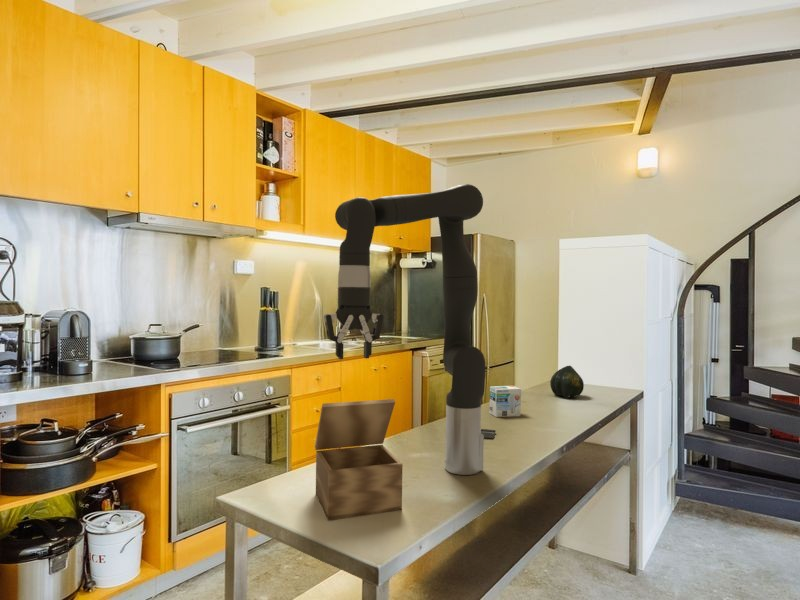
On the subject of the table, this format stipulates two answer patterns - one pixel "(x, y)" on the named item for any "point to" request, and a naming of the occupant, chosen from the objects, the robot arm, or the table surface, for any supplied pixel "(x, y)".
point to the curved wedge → (488, 433)
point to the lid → (353, 423)
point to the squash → (567, 383)
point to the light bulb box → (505, 401)
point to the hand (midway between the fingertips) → (353, 358)
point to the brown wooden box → (358, 481)
